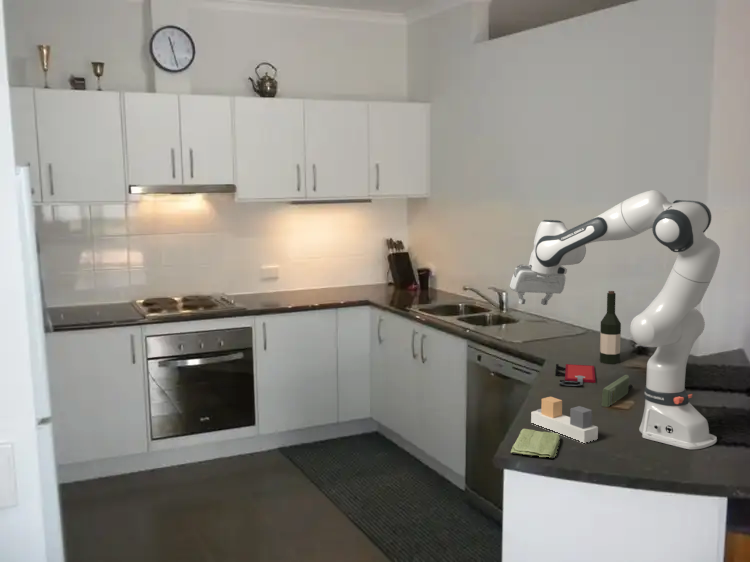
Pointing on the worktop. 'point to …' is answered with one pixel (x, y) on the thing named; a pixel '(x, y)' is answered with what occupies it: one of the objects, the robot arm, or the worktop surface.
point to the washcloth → (536, 443)
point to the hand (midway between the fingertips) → (532, 304)
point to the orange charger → (551, 407)
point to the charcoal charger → (581, 417)
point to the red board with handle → (576, 374)
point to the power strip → (565, 427)
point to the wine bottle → (610, 333)
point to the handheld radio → (615, 391)
